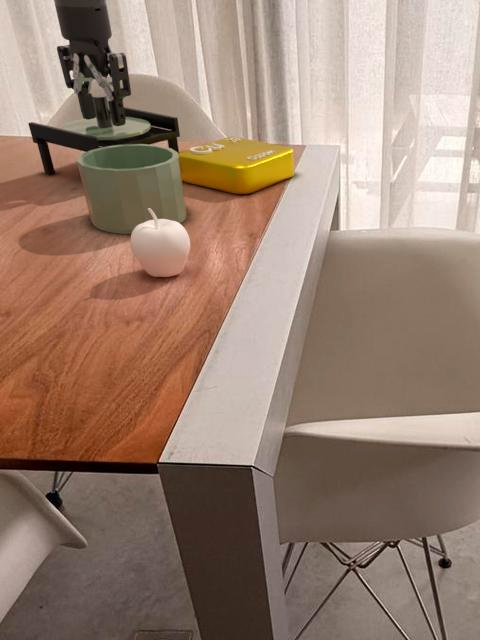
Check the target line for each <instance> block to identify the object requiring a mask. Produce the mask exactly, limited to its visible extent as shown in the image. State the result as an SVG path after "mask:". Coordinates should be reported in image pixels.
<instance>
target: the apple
mask: <svg viewBox="0 0 480 640" xmlns="http://www.w3.org/2000/svg"><path fill="white" fill-rule="evenodd" d="M148 210H149V212H150V213H151V215H152V217H153V219H154V220H149V221H146V222H144V223H141V224H139V225H137V226H136V227H135V228H134V230H133V232H132V234H130V244H129V245H130V248H131V251H132V253H133V256H134V257H135V258H136V260H137V261H138V263H139V264H140V265H141V267H142V268H143V269H144V271H145V272H146V273H147V274H148V275H150V276H151V277H154V278H160V277H161V278H170V277H174V276H178V275H180V274H181V273H182V272H183V270H184V269H185V267H186V264H187V260H188V257H189V255H190V250H191V239H190V238H191V237H190V235H189V233H188V232H187V230H186V228H185V227H184V226H183V225H182V224H181V223H178V222H176V221H172V220H167V219H157V217H156V215H155V214H154V212H153V211H152V210H151V208H149V209H148Z"/></svg>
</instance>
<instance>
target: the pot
mask: <svg viewBox="0 0 480 640" xmlns="http://www.w3.org/2000/svg"><path fill="white" fill-rule="evenodd" d="M76 163H77V167H78V171H79V176H80V180H81V185H82V188H83V194H84V197H85V203H86V206H87V210H88V216H89V219H90V221H91V223H92V225H93V226H94V227H95V228H97V229H98V230H101V231H104V232H107V233H113V234H119V235H120V234H121V235H131V234H132V232H133V230H134V228H135V227H136V226H137V225H139V224H141V223H144V222H146V221H149V220H154V219H153V217H152V215H151V213H150V212H149V210H148V209H149V208H151V210H152V211H153V212H154V214H155V215H156V217H157V219H167V220H172V221H176V222H178V223H180V224H181V223H183V222H184V221H185V220H186V219H187V216H188V215H187V207H186V206H187V205H186V199H185V192H184V191H185V190H184V185H183V184H184V183H183V181H182V177H181V170H180V163H179V156H178V152H176V151H175V150H173V149H171V148H169V147H167V146H163V145H158V144H150V145H148V144H124V145H115V146H107V147H102V148H98V149H94V150H90V151H87V152H83V153H81V154H80V155H79V156H78V157H77V160H76Z"/></svg>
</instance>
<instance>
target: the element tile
mask: <svg viewBox="0 0 480 640" xmlns="http://www.w3.org/2000/svg"><path fill="white" fill-rule="evenodd" d="M178 156H179V163H180V170H181V177H182V182H184V183H186V184H191V185H195V186H200V187H204V188H209V189H212V190H217V191H220V192H221V191H222V192H227V193H229V194H230V193H231V194H233V195H250V194H253V193H256V192H258V191H261V190H264V189H266V188H268V187H270V186H273V185H275V184H278V183H280V182H282V181H286V180H287V179H290V178H292V177H293V176H294V175H295V157H294V156H295V155H294V149H293V148H292V147H290V146H286V145H280V144H275V143H269V142H264V141H259V140H253V139H248V138H244V137H238V136H227V137H224V138H220V139H217V140H214V141H211V142H208V143H205V144H201V145H198V146H197V145H196V146H192V147H190V148H188V149H185V150H182V151H179V153H178Z"/></svg>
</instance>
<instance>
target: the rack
mask: <svg viewBox="0 0 480 640" xmlns="http://www.w3.org/2000/svg"><path fill="white" fill-rule="evenodd" d="M124 112H125V117H133V118H139V119H143V120H146V121H148V122H149V123H150V125H151V129H150V130H149V131H148V132H146V133H144V134H141V135H138V136H133V137H130V138H126V139H121V140H113V141H97V138H96V137H94V136H89V135H85V134H81V133H76V132H72V131H68V130H64V129H59V127H54V126H50V125H46V124H42V123H38V122H34V121H31V122H28V123H27V124H28V128H29V132H30V136H31V140H32V143H33V144H37V148H38V151H39V155H40V160H41V163H42V167H43V171H44V174H45V175H48V176H53V175H56V171H55V166H54V163H53V159H52V155H51V151H50V147H49V144H52V145H56V146H59V147H60V146H61V147H65V148H68V149H73V150H77V151H80V152H83V153H86V152H87V151H90V150H94V149H98V148H102V147H107V146H115V145H124V144H148V145H155V144H157V143H161V142H165V141H167V146H168V148H171V149H173V150H175V151H176V152H178V153H179V152H180V150H179V143H178V138H179V137H181V134H180V133H181V132H180V127H179V119H178V117H176V116H171V115H166V114H161V113H156V112H151V111H147V110H141V109H136V108H131V107H126V106H124Z"/></svg>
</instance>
